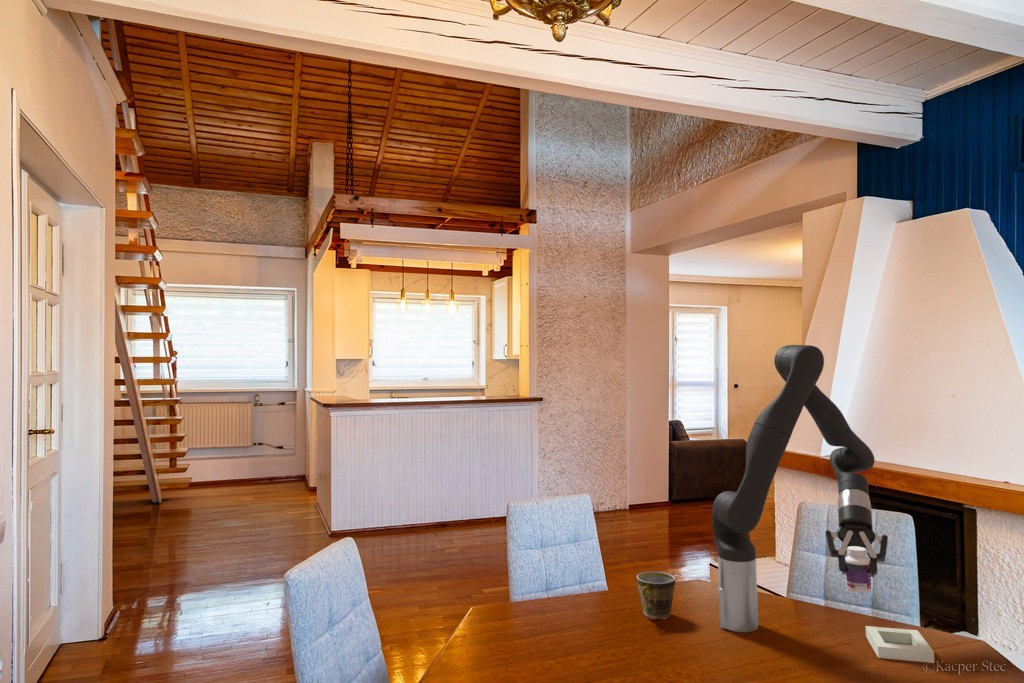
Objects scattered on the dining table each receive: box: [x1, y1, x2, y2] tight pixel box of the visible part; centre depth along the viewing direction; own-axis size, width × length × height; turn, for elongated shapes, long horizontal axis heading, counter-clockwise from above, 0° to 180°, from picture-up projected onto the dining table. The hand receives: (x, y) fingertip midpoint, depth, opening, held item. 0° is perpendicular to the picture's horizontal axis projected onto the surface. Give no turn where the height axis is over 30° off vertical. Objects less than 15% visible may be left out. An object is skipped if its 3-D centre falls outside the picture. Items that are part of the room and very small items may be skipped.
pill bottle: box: [844, 546, 872, 594], centre depth 159 cm, size 5×5×10 cm
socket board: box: [865, 625, 935, 664], centre depth 153 cm, size 11×12×2 cm
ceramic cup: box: [636, 571, 676, 619], centre depth 175 cm, size 13×10×10 cm
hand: (858, 573), depth 157 cm, fingers closed on pill bottle, 5 cm apart
